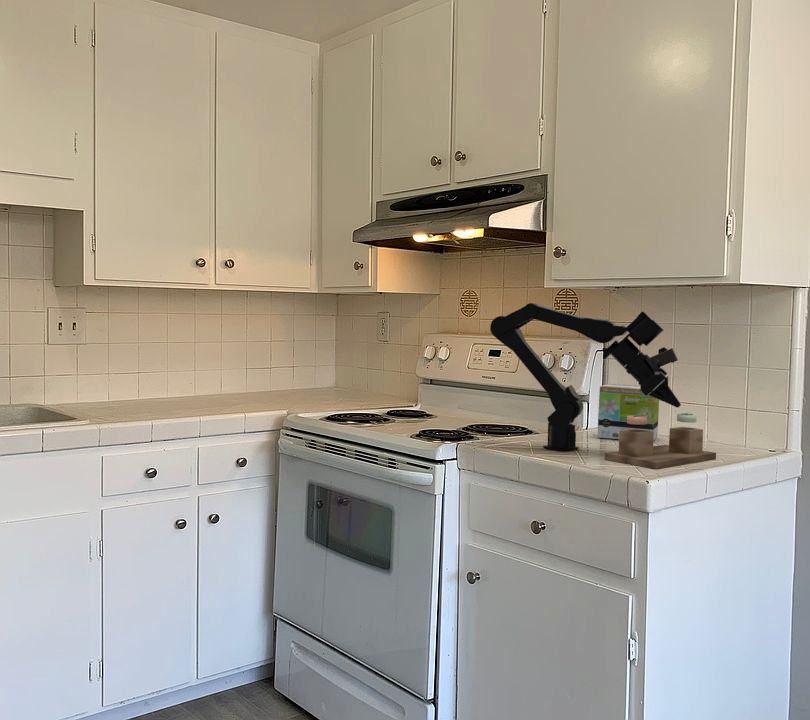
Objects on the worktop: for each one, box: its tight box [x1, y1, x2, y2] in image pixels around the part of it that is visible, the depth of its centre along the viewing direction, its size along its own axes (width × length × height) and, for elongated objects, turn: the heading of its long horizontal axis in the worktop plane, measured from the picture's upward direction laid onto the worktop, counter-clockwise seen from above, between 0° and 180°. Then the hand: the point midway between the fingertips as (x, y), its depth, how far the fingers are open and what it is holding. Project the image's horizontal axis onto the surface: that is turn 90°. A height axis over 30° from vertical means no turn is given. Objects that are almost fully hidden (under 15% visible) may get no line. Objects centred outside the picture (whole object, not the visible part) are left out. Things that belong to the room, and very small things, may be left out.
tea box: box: [597, 383, 660, 442], centre depth 221 cm, size 15×10×15 cm, turn 65°
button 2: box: [676, 412, 698, 424], centre depth 191 cm, size 4×4×2 cm
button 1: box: [627, 415, 647, 425], centre depth 185 cm, size 4×4×2 cm
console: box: [604, 426, 717, 470], centre depth 188 cm, size 14×24×7 cm, turn 128°
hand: (679, 406), depth 191 cm, fingers closed
